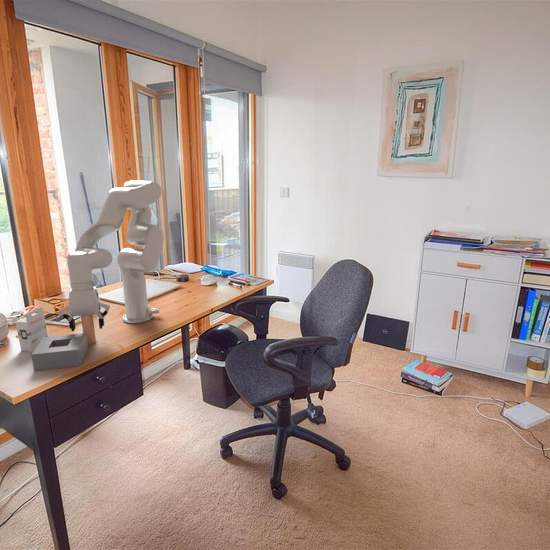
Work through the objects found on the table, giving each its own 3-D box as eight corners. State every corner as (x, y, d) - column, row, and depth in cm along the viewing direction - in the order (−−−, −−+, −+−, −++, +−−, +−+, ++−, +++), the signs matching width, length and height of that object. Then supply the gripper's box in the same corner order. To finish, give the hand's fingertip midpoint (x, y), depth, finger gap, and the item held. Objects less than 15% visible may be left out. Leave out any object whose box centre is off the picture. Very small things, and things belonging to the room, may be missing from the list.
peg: (96, 339, 153) (92, 308, 149) (95, 343, 149) (90, 311, 146) (85, 340, 152) (81, 309, 148) (83, 345, 148) (79, 312, 145)
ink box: (37, 341, 151) (31, 305, 148) (49, 342, 151) (43, 305, 147) (20, 351, 143) (13, 313, 139) (32, 352, 143) (25, 314, 139)
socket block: (88, 347, 146) (85, 332, 144) (80, 365, 133) (77, 349, 131) (46, 352, 142) (43, 337, 141) (34, 371, 129) (31, 354, 128)
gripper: (108, 281, 150) (113, 323, 154) (58, 284, 146) (64, 327, 150) (106, 286, 143) (110, 330, 147) (53, 290, 139) (59, 335, 143)
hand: (87, 328), depth 149 cm, fingers open, 9 cm apart
